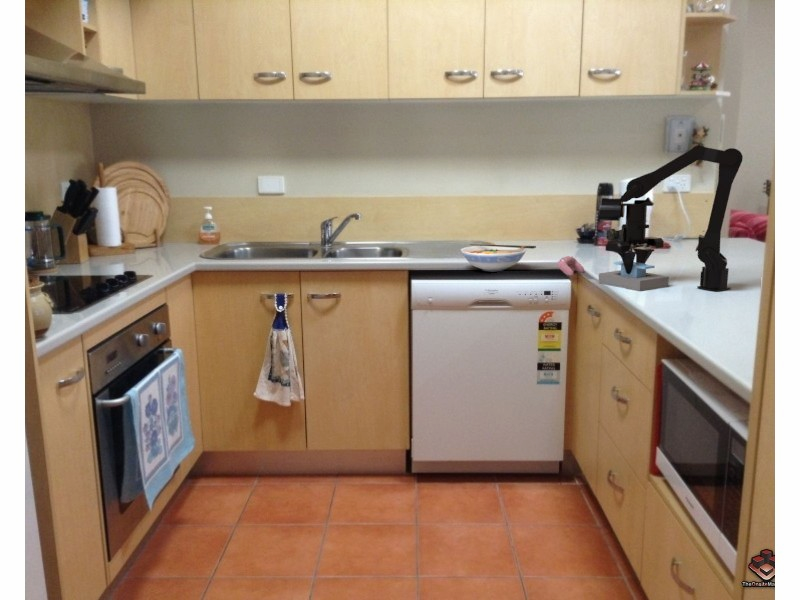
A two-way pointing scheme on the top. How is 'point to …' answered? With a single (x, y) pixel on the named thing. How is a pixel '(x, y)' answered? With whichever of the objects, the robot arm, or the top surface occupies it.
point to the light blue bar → (635, 269)
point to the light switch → (634, 281)
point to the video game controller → (570, 265)
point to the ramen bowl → (494, 256)
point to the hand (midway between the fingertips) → (633, 273)
